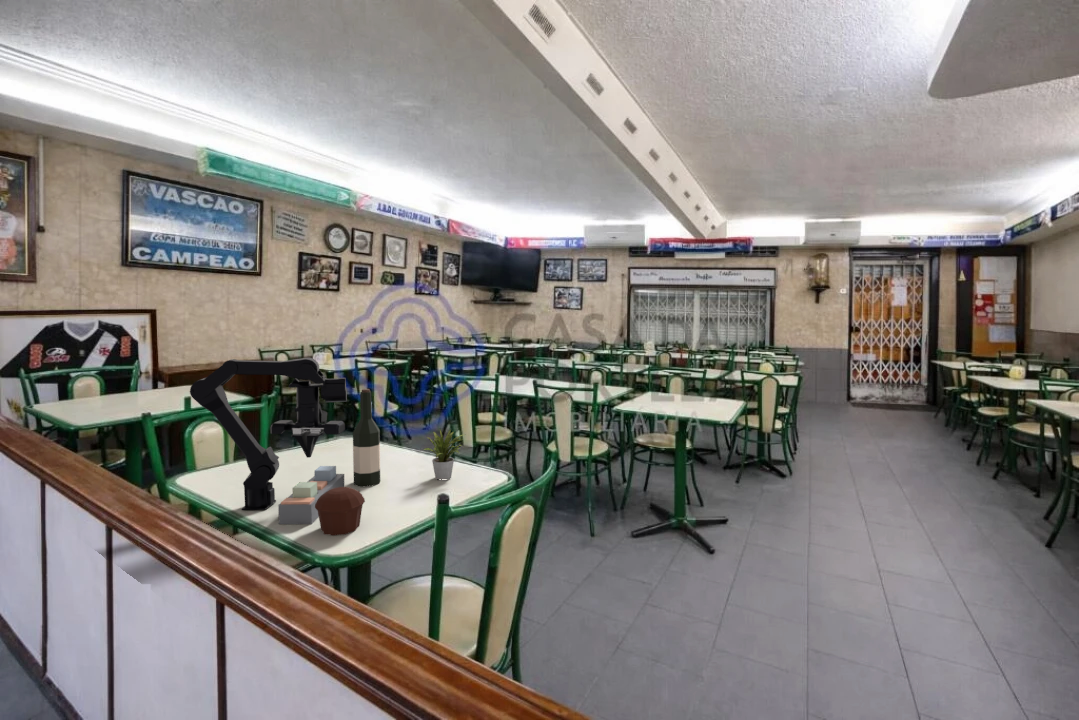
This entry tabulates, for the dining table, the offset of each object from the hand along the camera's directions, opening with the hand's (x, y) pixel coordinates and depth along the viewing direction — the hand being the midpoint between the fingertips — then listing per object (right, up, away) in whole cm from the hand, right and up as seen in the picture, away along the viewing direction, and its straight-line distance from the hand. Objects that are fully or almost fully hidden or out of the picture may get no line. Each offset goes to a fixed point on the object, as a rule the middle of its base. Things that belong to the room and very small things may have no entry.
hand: (308, 457), depth 146 cm
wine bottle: (+10, -12, +18) cm, 24 cm away
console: (+2, -13, -2) cm, 14 cm away
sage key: (+3, -9, -9) cm, 13 cm away
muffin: (+16, -15, -17) cm, 27 cm away
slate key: (+2, -8, +6) cm, 10 cm away
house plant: (+34, -12, +22) cm, 43 cm away
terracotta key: (+2, -11, -1) cm, 11 cm away
